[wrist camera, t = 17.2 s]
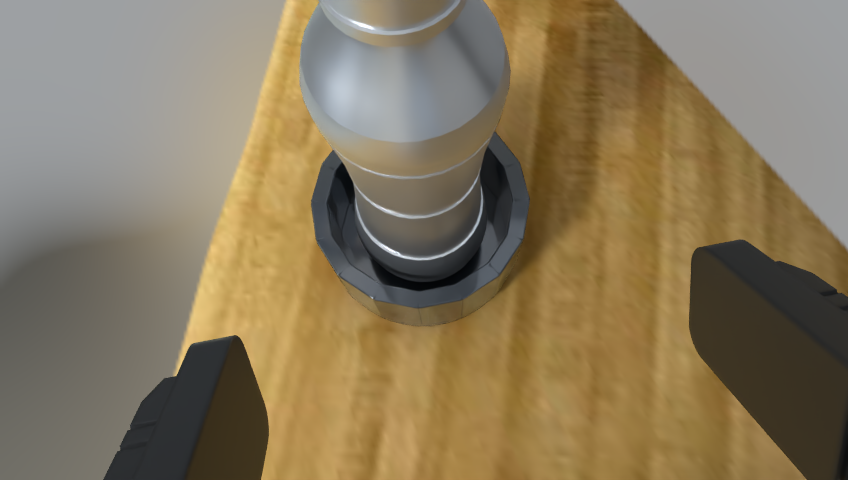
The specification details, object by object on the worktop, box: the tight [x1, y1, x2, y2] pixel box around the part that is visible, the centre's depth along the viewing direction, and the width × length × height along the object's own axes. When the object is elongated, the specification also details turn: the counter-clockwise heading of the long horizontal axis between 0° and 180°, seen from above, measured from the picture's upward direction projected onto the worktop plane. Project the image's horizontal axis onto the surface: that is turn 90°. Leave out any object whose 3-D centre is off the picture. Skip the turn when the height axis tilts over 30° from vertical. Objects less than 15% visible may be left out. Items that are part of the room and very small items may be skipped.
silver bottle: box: [300, 0, 511, 282], centre depth 23 cm, size 6×7×20 cm
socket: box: [311, 132, 530, 326], centre depth 30 cm, size 10×10×4 cm
